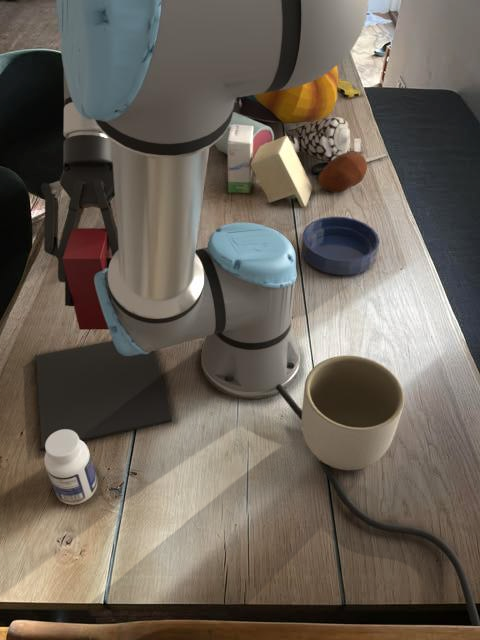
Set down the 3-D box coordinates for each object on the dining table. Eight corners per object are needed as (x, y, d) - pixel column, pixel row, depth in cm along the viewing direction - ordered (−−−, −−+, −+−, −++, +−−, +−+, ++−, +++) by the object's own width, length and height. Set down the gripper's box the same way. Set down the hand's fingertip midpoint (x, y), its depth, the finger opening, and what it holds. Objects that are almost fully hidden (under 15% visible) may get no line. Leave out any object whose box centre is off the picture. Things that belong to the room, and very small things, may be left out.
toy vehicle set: (360, 151, 144) (359, 155, 146) (361, 137, 145) (360, 141, 147) (309, 149, 145) (309, 153, 146) (310, 135, 146) (310, 139, 147)
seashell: (297, 132, 131) (315, 175, 134) (349, 106, 132) (365, 149, 136) (276, 135, 147) (292, 173, 150) (322, 111, 148) (337, 150, 151)
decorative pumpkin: (339, 130, 149) (369, 85, 137) (261, 139, 140) (286, 91, 127) (306, 67, 155) (332, 18, 142) (229, 71, 146) (250, 19, 133)
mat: (172, 421, 87) (172, 418, 86) (42, 450, 83) (41, 448, 83) (150, 336, 99) (150, 333, 99) (36, 358, 96) (35, 355, 95)
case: (79, 329, 89) (62, 258, 80) (87, 298, 94) (72, 228, 85) (113, 329, 89) (100, 258, 80) (119, 298, 94) (108, 228, 85)
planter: (317, 491, 79) (326, 440, 71) (286, 417, 87) (291, 365, 80) (405, 469, 81) (422, 418, 74) (366, 399, 90) (378, 347, 82)
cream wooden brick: (246, 165, 124) (275, 217, 130) (278, 153, 120) (306, 207, 127) (256, 146, 130) (283, 197, 136) (287, 134, 126) (313, 186, 133)
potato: (312, 166, 128) (342, 183, 125) (347, 134, 131) (378, 150, 128) (314, 191, 135) (343, 208, 131) (348, 160, 138) (376, 176, 134)
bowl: (388, 270, 112) (392, 253, 109) (317, 284, 109) (319, 266, 107) (357, 228, 122) (359, 211, 119) (290, 240, 119) (292, 222, 116)
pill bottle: (79, 462, 82) (65, 416, 75) (106, 484, 79) (94, 439, 73) (46, 489, 79) (29, 444, 72) (73, 513, 76) (58, 469, 70)
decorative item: (346, 98, 168) (362, 95, 169) (346, 95, 167) (362, 92, 169) (327, 82, 175) (343, 80, 177) (328, 79, 175) (343, 77, 176)
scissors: (376, 149, 146) (306, 169, 139) (376, 146, 146) (307, 166, 139) (394, 161, 142) (323, 183, 135) (395, 158, 142) (324, 179, 134)
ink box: (250, 193, 132) (251, 142, 124) (227, 192, 132) (227, 141, 124) (252, 173, 138) (254, 124, 130) (231, 172, 138) (230, 123, 130)
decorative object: (315, 148, 146) (319, 107, 139) (199, 132, 152) (198, 93, 145) (335, 99, 167) (339, 62, 160) (232, 87, 173) (232, 50, 166)
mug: (247, 121, 146) (279, 135, 141) (229, 156, 147) (260, 171, 142) (216, 97, 134) (251, 111, 129) (197, 136, 135) (230, 151, 130)
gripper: (158, 149, 90) (158, 306, 89) (35, 149, 90) (34, 307, 89) (151, 132, 83) (151, 303, 82) (17, 132, 82) (16, 304, 82)
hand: (90, 305), depth 86 cm, fingers closed on case, 5 cm apart
